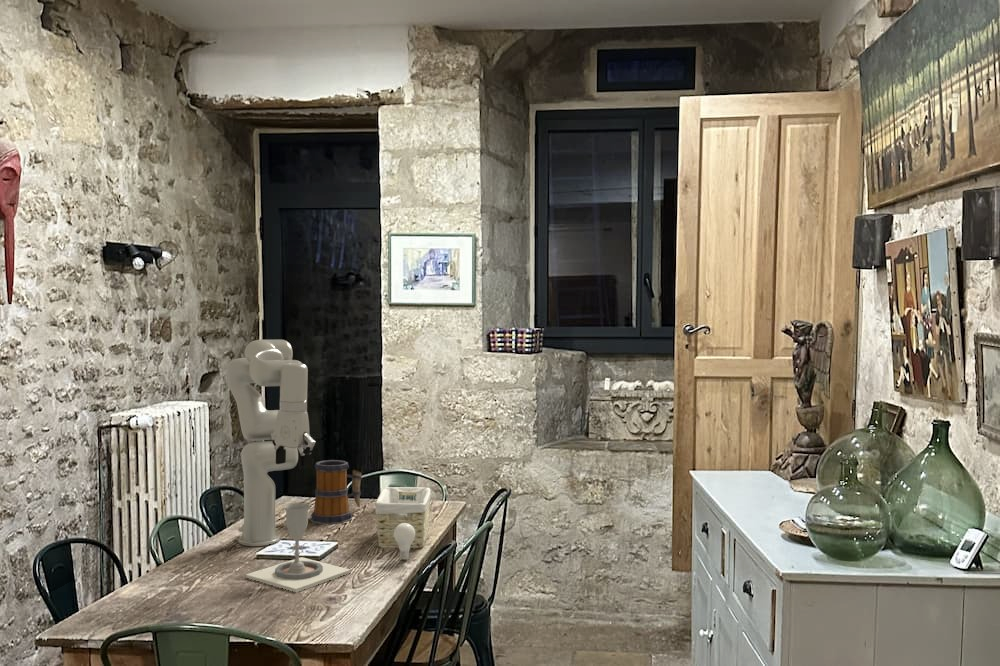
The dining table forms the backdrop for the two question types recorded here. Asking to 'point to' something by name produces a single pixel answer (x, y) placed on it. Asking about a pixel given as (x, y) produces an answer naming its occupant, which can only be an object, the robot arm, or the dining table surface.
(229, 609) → the dining table surface
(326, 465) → the mug
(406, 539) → the lightbulb
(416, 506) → the storage basket
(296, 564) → the chalice
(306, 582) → the seat board
